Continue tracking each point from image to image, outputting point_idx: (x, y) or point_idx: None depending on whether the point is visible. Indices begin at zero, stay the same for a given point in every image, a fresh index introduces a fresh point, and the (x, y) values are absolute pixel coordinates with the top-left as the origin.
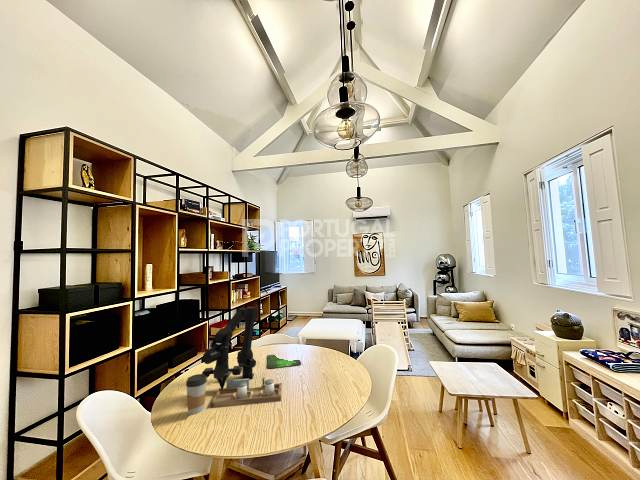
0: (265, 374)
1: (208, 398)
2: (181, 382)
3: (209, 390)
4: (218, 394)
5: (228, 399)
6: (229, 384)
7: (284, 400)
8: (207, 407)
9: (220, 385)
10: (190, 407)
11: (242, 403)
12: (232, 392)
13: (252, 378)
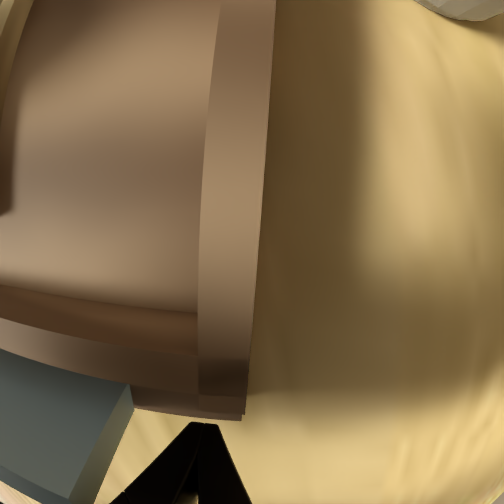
0: (6, 488)
1: (394, 278)
2: (492, 493)
3: (377, 457)
4: (209, 155)
5: (47, 70)
6: (43, 431)
7: None
8: (346, 4)
9: (226, 472)
10: None
11: None
12: (27, 292)
13: None
